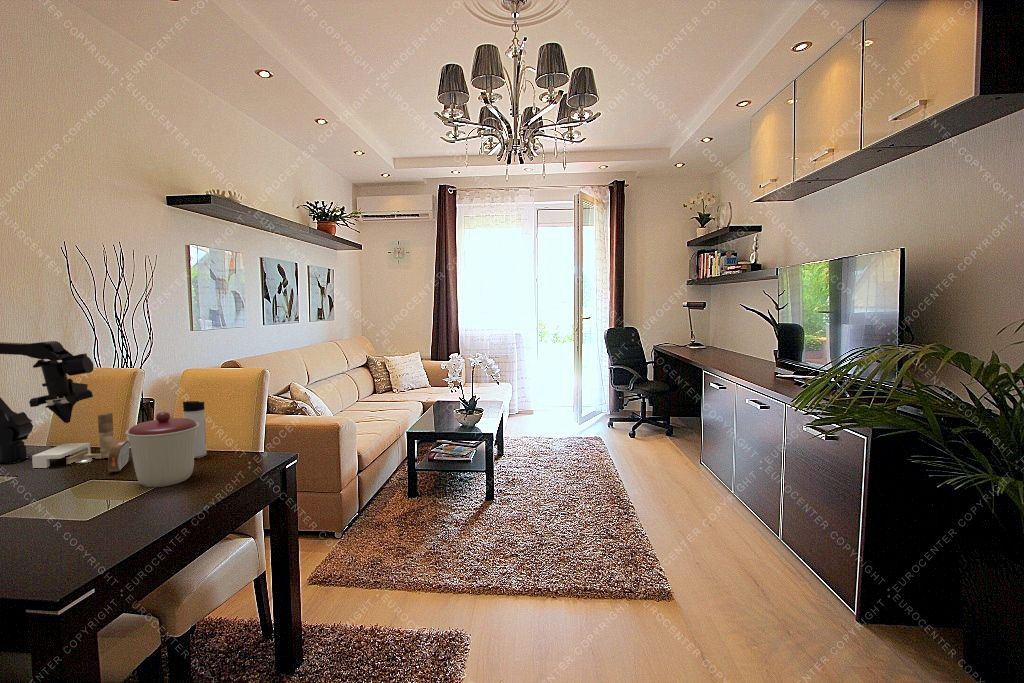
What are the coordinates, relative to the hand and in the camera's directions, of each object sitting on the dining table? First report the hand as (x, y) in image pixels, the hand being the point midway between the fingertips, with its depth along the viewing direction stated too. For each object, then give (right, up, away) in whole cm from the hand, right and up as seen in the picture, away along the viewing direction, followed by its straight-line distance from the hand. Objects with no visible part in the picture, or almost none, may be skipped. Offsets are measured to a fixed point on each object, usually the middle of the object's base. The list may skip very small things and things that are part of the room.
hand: (67, 422), depth 171 cm
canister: (+48, -14, -21) cm, 54 cm away
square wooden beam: (+10, -12, -2) cm, 16 cm away
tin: (+25, -13, -9) cm, 30 cm away
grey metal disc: (+9, -13, -4) cm, 17 cm away
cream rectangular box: (+2, -13, -3) cm, 13 cm away
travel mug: (+42, -13, +2) cm, 44 cm away
